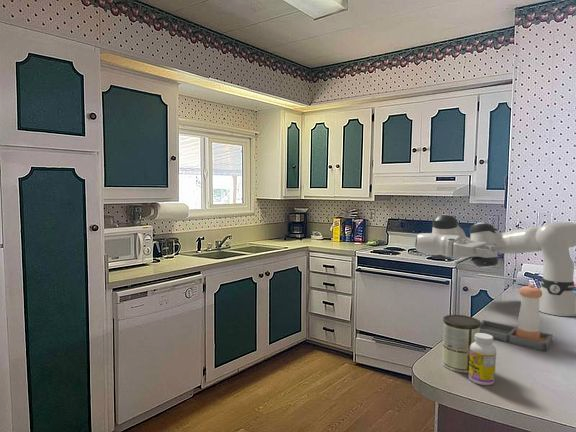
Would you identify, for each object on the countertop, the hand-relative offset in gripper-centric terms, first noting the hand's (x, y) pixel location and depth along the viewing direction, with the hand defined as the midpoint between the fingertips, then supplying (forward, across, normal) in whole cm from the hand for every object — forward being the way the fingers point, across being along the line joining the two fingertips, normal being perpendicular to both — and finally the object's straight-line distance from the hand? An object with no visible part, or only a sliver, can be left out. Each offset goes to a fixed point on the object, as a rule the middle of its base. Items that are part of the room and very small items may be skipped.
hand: (492, 250), depth 159 cm
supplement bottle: (+11, +47, -30) cm, 57 cm away
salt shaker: (+14, +4, -29) cm, 33 cm away
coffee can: (+3, +41, -30) cm, 51 cm away
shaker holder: (+9, +4, -30) cm, 32 cm away
